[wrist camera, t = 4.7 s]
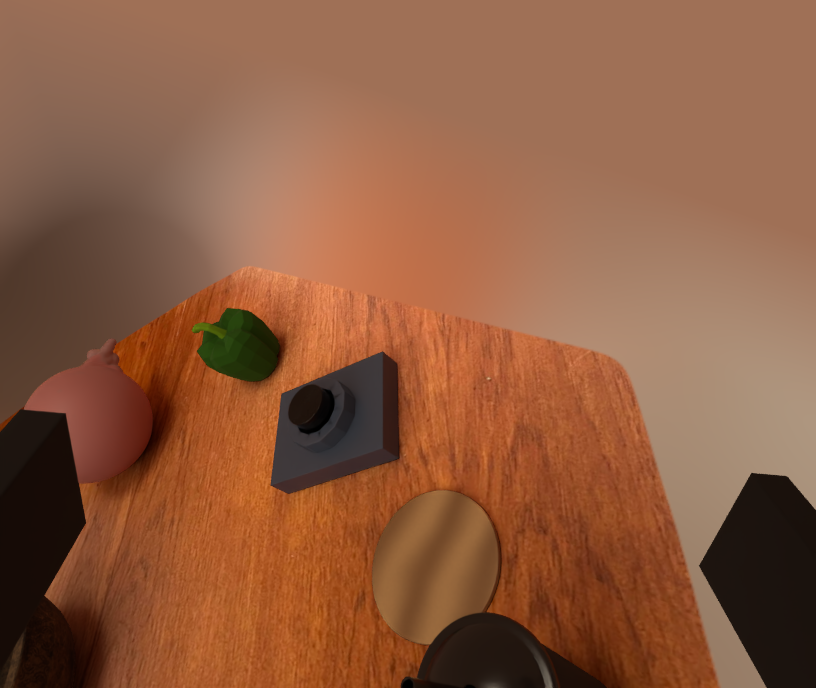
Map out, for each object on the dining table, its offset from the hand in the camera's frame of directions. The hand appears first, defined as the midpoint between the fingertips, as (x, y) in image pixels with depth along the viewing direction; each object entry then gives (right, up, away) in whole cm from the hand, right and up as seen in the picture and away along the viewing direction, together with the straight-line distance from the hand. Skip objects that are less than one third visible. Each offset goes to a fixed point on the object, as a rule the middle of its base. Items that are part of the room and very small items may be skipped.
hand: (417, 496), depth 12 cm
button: (-9, -4, +48) cm, 49 cm away
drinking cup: (+11, -21, +26) cm, 35 cm away
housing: (-7, -6, +50) cm, 51 cm away
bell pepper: (-18, +1, +65) cm, 67 cm away
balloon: (-38, -9, +73) cm, 83 cm away
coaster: (+2, -15, +37) cm, 40 cm away
